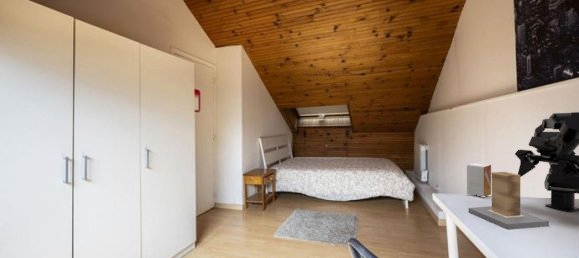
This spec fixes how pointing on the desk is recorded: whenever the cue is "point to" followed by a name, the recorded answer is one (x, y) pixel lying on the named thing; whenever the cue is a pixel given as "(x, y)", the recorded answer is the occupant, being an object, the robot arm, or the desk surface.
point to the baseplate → (509, 218)
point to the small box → (479, 179)
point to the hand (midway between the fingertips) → (532, 178)
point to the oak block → (506, 193)
